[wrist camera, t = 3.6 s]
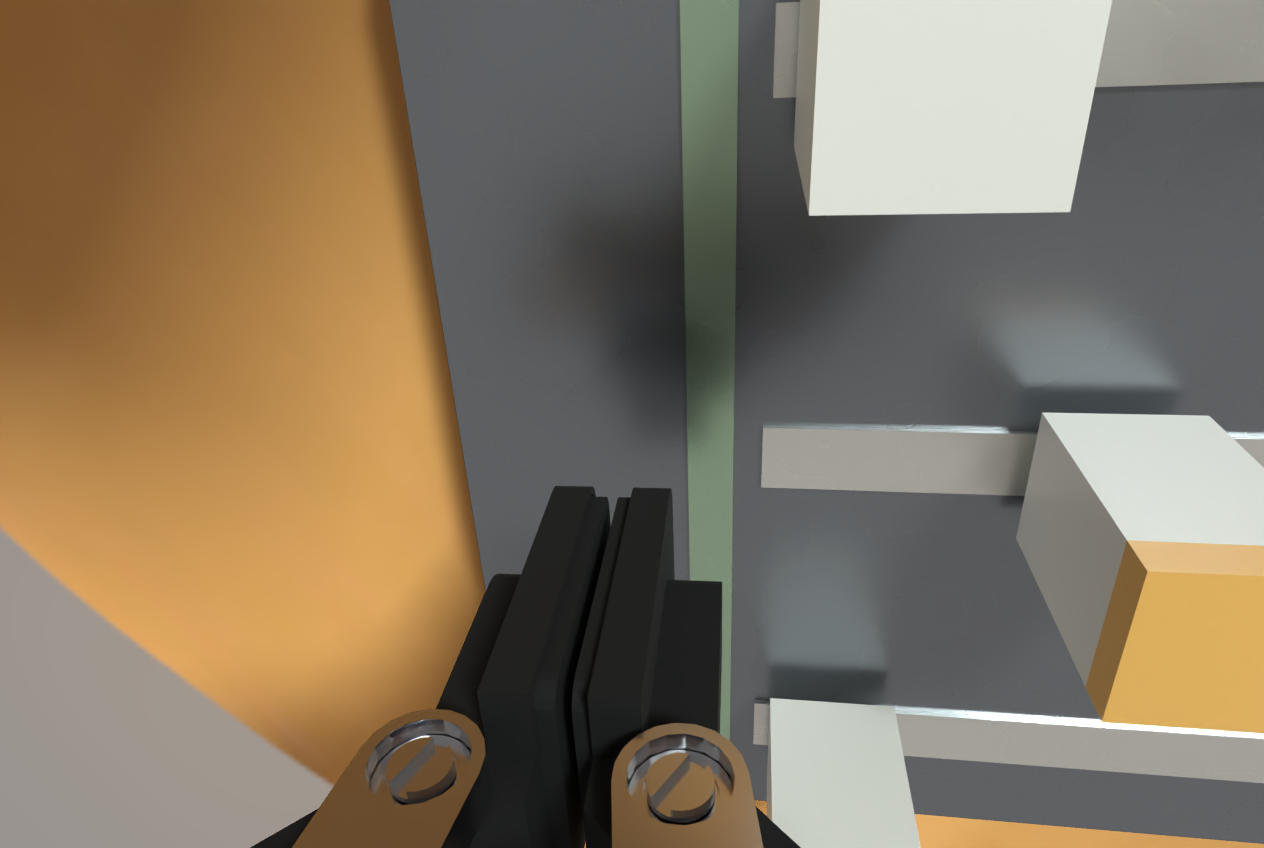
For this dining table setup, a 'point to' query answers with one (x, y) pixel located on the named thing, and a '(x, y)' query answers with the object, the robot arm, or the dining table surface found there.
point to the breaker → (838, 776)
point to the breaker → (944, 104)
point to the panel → (843, 364)
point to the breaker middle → (1152, 565)
